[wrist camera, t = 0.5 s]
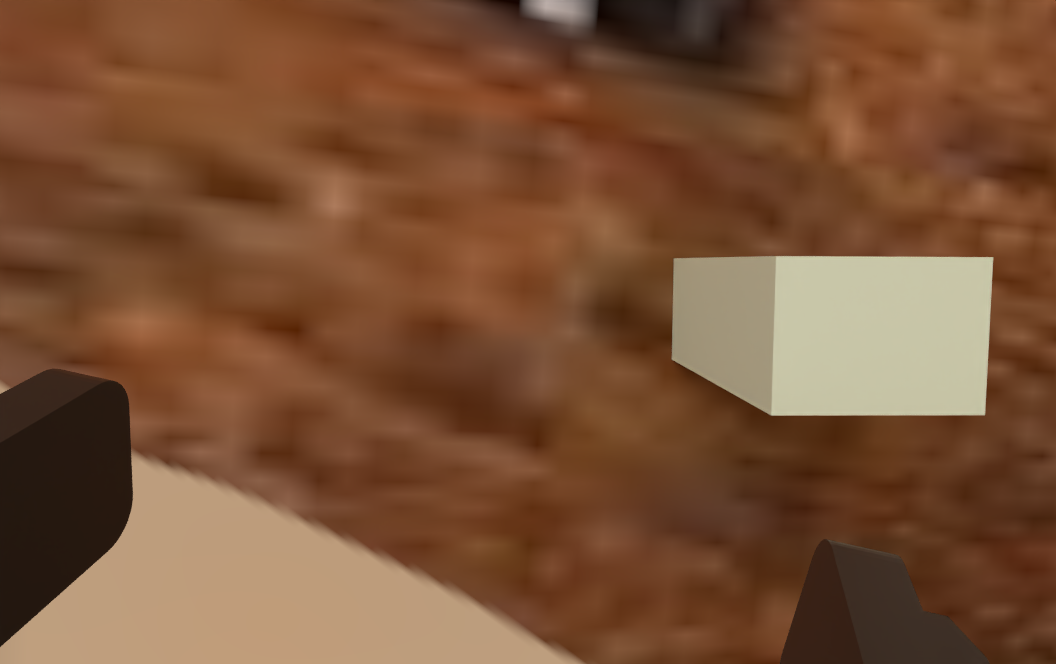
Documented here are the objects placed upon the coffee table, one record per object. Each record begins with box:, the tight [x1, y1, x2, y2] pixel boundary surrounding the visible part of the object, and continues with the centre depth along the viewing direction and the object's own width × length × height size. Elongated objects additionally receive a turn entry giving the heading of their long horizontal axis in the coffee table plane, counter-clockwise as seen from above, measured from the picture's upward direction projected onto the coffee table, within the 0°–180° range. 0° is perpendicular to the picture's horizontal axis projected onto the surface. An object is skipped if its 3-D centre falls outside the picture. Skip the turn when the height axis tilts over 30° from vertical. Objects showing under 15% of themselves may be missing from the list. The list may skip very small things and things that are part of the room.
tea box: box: [672, 256, 993, 416], centre depth 27 cm, size 4×6×12 cm
